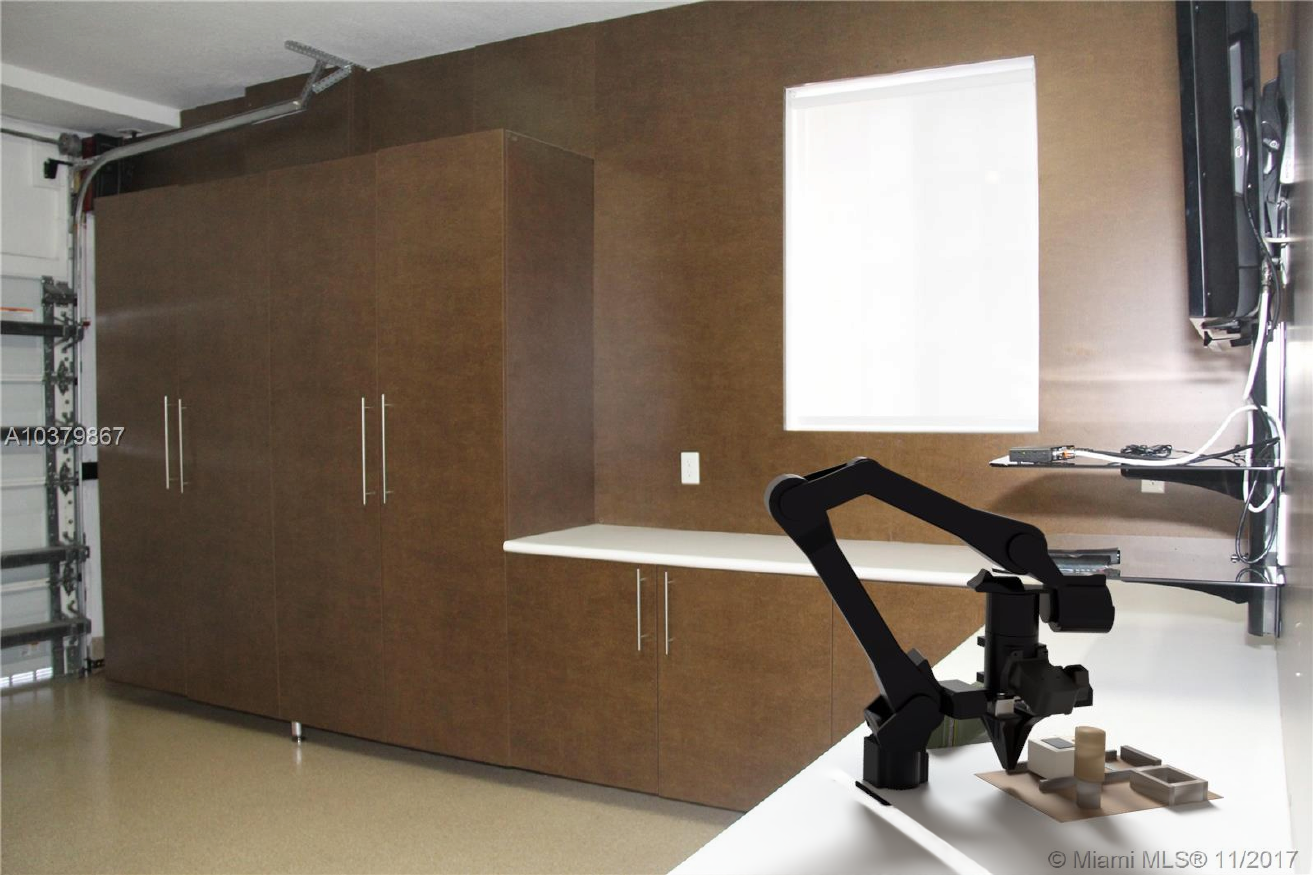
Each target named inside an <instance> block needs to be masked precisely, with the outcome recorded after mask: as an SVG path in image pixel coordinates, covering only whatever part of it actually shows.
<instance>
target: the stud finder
mask: <svg viewBox="0 0 1313 875" xmlns="http://www.w3.org/2000/svg"><path fill="white" fill-rule="evenodd" d="M1074 749H1075V735H1073V734H1070V733H1069V734H1067V733H1066V734H1061V735H1059V734H1058V735H1053V736H1052V735H1051V736H1044V737H1043V736H1042V737H1035V738H1027V760H1026V761H1027V769H1028V770H1030V771H1032V772H1034V773H1036V774H1038V775H1040V776H1042V777H1044V778H1046V779H1053V778H1061V777H1068V776H1074Z"/></svg>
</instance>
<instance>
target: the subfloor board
mask: <svg viewBox="0 0 1313 875" xmlns="http://www.w3.org/2000/svg"><path fill="white" fill-rule="evenodd" d="M1119 747H1120V748H1119V749H1120V750H1119V752H1120V754H1118V750H1117V749H1115V748H1114V749H1107V750H1106V749H1105V780H1104V781H1103V782H1101V808H1100V809H1096V810H1091V809H1085V808H1082V807H1079V806H1078V805H1077V804H1076V788H1077V778H1076V777H1075V776H1068V777H1061V778H1053V779H1046V778H1044V777H1042V776H1040V775H1038V774H1036V773H1034V772H1032V771H1030V770H1028V769H1027V760H1020V761H1019V760H1018V762H1017V764H1016V767H1015V769H1014V770H1012V771H1007V770H1005V769H1002V770H995V771H993V770H992V771H986V772H979V773H974V774H973V775H974V776H976V777H977V778H980V780H981V779H982V780H983V781H986V782H987V783H988V784H991V785H993V786H994V787H996V788H998V789H999V790H1002V791H1003V792H1005V793H1007V794H1009V795H1010V796H1013V797H1014V798H1016V799H1018V800H1019V801H1021V802H1023V803H1025V804H1026V805H1028V806H1030V807H1032V808H1034V809H1035V810H1038V811H1039V812H1041V813H1043V814H1045V815H1047V816H1048V817H1050V818H1052V819H1054V820H1056V821H1057V822H1059V823H1067V822H1073V821H1081V820H1086V819H1093V818H1099V817H1100V818H1101V817H1105V816H1113V815H1119V814H1126V813H1132V812H1140V811H1146V810H1153V809H1159V808H1164V807H1165V808H1166V807H1171V806H1179V805H1184V804H1190V803H1198V802H1204V801H1211V800H1218V799H1222V798H1223V799H1224V796H1222V795H1220V794H1217V793H1215V792H1212V791H1210V790H1209V781H1208V780H1206V779H1204V778H1202V777H1198V776H1197V775H1194V774H1192V773H1189V772H1186V771H1184V770H1182V769H1179V768H1177V767H1175V766H1172V765H1170V764H1167V763H1166V764H1162V763H1163V762H1162V761H1163V759H1161V758H1159V757H1156V756H1153V755H1152V754H1149V753H1146V752H1144V751H1142V750H1140V749H1137V748H1135V747H1132V746H1130V745H1126V744H1125V745H1120V746H1119Z"/></svg>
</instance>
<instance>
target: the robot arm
mask: <svg viewBox="0 0 1313 875" xmlns="http://www.w3.org/2000/svg"><path fill="white" fill-rule="evenodd" d="M764 491H765V492H764V495H763V503H764V506H765V509H766V511H767V512H768V514H769V516H771V518H772V519H773V520H774V521H775V522H776V523H777V524H778V526H780V528H781V529H782V530H783V531H784V533H785V534H786V535H787V536H788V537H789V538H790V539H791V540H792V542H793V543H794V544H795V545H796V546H797V547H798V548H799V549H800V550H801V552H802V553H804V555H805V557H806V558H807V559H808V561H809V562H810V564H811V566H812V568H813V569H814V571H815V573H816V574H817V575H818V578H819V579H820V580H821V582H822V584H823V586H824V587H825V589H826V591H827V592H828V594H829V595H830V597H831V599H832V601H833V602H834V603H835V605H836V607H837V608H838V610H839V611H840V614H841V615H842V618H844V620H845V622H846V623H847V625H848V627H849V628H850V630H851V631H852V633H853V634H854V636H855V638H856V640H857V641H858V643H859V645H860V646H861V649H862V650H863V651H864V653H865V655H866V656H867V658H868V662H869V664H870V667H871V670H872V674H873V676H874V680H875V682H876V685H877V689H878V690H879V692H880V693H879V694H878V695H877V696H876V697H875V698H874V699H873V700H871V701H870V702H869V703H868V704H866V706H865V707H864V708H863V709H862V714H863V717H864V719H865V723H866V726H867V727H868V729H870V731H871V732H872V733H870V734H869V735H865V736H863V753H862V754H863V758H862V762H863V763H862V764H863V765H862V780H864V781H865V782H867V783H868V784H870V785H871V786H872V787H874V788H875V789H877V790H884V789H885V790H890V791H910V790H914V789H917V788H919V787H920V785H923V784H926V783H928V782H929V773H930V772H929V771H930V765H929V764H930V752H928V750H926V746H927V744H928V741H929V739H930V736H931V734H932V731H934V730H935V729H937V728H938V727H939V726H940V725H941V723H942V722H943V720H944V717H945V715H946V716H948V717H951V718H953V719H958V720H966V719H975V718H980V720H981V722H982V723H983V725H984V727H985V729H986V731H985V732H986V733H987V735H988V738H989V740H990V741H991V742H990V743H991V745H992V747H993V749H994V751H995V754H996V756H997V758H998V760H999V763H1000V765H1001V768H1002V770H1007V771H1012V770H1014V769H1015V767H1016V764H1017V762H1019V760H1020V757H1021V754H1022V752H1023V750H1024V747H1025V744H1026V742H1027V741H1028V739H1029V738H1028V737H1029V735H1031V732H1032V730H1033V728H1034V727H1035V726H1036V725H1037V724H1038V723H1040V722H1041V721H1042V720H1044V719H1046V718H1050V717H1051V716H1053V715H1054V716H1055V715H1064V716H1069V715H1072V713H1073V710H1074V709H1075V708H1085V707H1093V706H1094V689H1093V687H1092V685H1091V683H1090V673H1089V670H1088V668H1086V667H1085V666H1084V665H1082V664H1080V663H1077V664H1076V663H1075V664H1068V665H1065V667H1064V666H1062V665H1054V664H1053V663H1051V662H1050V659H1049V650H1048V648H1047V646H1048V645H1047V644H1045V643H1042V642H1040V620H1041V622H1042V623H1043V624H1047V625H1048V627H1049V629H1050V630H1051V632H1053V633H1065V634H1066V633H1067V634H1071V633H1072V634H1109V633H1110V632H1111V631H1112V629H1113V626H1114V624H1115V623H1114V622H1115V619H1116V618H1115V617H1116V607H1115V605H1113V604H1114V602H1113V597H1112V595H1111V594H1112V593H1111V591H1110V589H1109V587H1108V586H1107V575H1106V574H1105V573H1102V572H1100V571H1094V570H1093V571H1084V572H1062V571H1061V570H1060V568H1059V566H1058V565H1057V564H1056V563H1055V561H1054V560H1053V558H1052V557H1051V556H1050V554H1049V553H1048V552H1049V550H1048V547H1049V546H1048V545H1049V544H1048V541H1047V539H1046V536H1045V533H1044V532H1043V531H1042V530H1041V529H1040V528H1038V527H1037V526H1035V525H1034V524H1031V523H1028V522H1024V521H1021V520H1019V519H1017V518H1013V517H1010V516H1005V515H1002V514H999V513H995V512H991V511H987V510H983V509H980V508H979V509H978V508H975V507H971V506H968V505H966V504H964V503H963V502H960V501H958V500H956V499H953V498H952V497H950V496H947V495H945V494H943V493H940V492H938V491H936V490H934V489H932V488H930V487H928V486H926V485H923V483H922V484H921V483H919V482H917V481H916V480H915V481H914V480H913V479H911V478H909V477H906V476H904V475H902V474H901V473H898V472H896V471H894V470H892V469H889V468H887V467H885V466H883V465H882V464H881V463H879V461H877V460H875V459H873V458H869V457H864V456H856V457H854V458H850V459H849V461H846V462H844V463H840V464H838V465H835V466H829V467H828V468H824V469H821V470H817V471H814V472H811V473H807V474H805V475H803V476H800V475H797V474H793V473H785V474H783V473H782V474H781V475H779V476H776V477H775V478H773V479H772V480H771V481H770V482H769V483H768V485H767V486H766V489H765V490H764ZM865 495H866V496H867V495H868V496H870V497H872V498H874V499H876V500H879V501H881V502H883V503H885V504H887V505H889V506H891V507H894V508H896V509H898V510H900V511H902V512H904V513H906V514H908V515H910V516H913V517H915V518H916V519H919V520H921V521H924V522H926V523H927V524H930V525H932V526H934V527H936V528H938V529H941V530H943V531H945V532H946V533H949V534H951V535H952V536H954V537H955V538H956V539H957V540H959V541H961V543H963V544H964V545H965V546H967V547H968V548H970V549H971V550H973V551H974V552H975V553H976V554H978V555H979V556H981V557H982V558H984V559H986V560H987V561H988V562H989V563H991V564H993V565H995V566H996V567H999V568H1001V569H1002V570H1005V571H1007V572H1009V573H1011V574H1014V575H993V574H992V572H991V571H989V570H988V569H986V568H984V567H983V568H981V569H980V570H979V571H978V573H977V574H975V575H974V576H973V577H972V578H971V579H969V580H968V581H967V582H966V586H967V587H968V588H969V589H970V590H972V591H974V592H976V593H981V594H984V593H985V607H984V608H985V609H984V610H985V614H984V616H985V617H984V635H977V637H976V638H977V639H976V645H977V646H979V647H982V648H983V651H984V652H983V656H984V657H983V671H976V674H975V675H976V676H975V678H976V679H975V682H976V681H978V682H981V683H983V684H984V687H975V686H972V685H970V683H968V682H965V681H962V680H960V679H957V678H956V679H947V680H946V679H944V680H938V679H937V678H936V676H935V674H934V672H933V668H932V666H931V664H930V663H929V660H928V659H927V658H926V657H925V656H924V655H923V654H922V653H921V651H919V649H917V647H912V648H911V649H910V650H909V651H908V652H907V653H906V652H905V651H904V649H902V648H901V646H900V644H899V643H898V641H897V639H896V638H895V636H894V634H893V633H892V631H891V629H890V628H889V626H888V624H887V622H886V621H885V620H884V617H883V616H882V615H881V613H880V611H879V609H878V608H877V607H876V605H875V603H874V601H873V600H872V598H871V596H870V595H869V594H868V591H867V589H865V586H864V585H863V583H862V581H861V580H860V578H859V576H858V575H857V574H856V572H855V571H854V568H853V567H852V565H851V564H850V562H849V561H848V559H847V557H846V556H845V554H844V552H843V551H842V549H841V547H840V545H839V544H838V542H837V539H836V536H835V533H834V529H833V525H832V523H831V520H830V517H829V514H828V512H827V511H829V510H832V509H834V508H837V507H839V506H842V505H843V504H846V503H849V502H850V501H852V500H855V499H857V498H859V497H862V496H865ZM1016 575H1017V576H1016ZM1019 576H1027V577H1029V578H1032V579H1033V580H1035V581H1037V582H1040V583H1042V584H1040V583H1039V584H1038V583H1037V584H1036V583H1035V584H1034V583H1033V584H1030V583H1029V584H1028V583H1023V581H1022V579H1021V578H1020V577H1019ZM998 693H1000V694H1001V695H998ZM854 783H855V784H854V785H855V787H856V788H857V789H859V790H860V791H862V792H863V793H865V794H866V795H868V796H869V797H871V798H872V799H874V800H876V802H878V803H880V804H881V805H883V806H888V807H889V806H893V804H892V803H890V802H889V801H887V800H886V799H885V798H883V797H881V796H880V795H879V794H878V793H876V792H875V791H873V790H871V788H868V786H866V785H865V784H863V783H861V782H860V781H858V780H855V782H854Z"/></svg>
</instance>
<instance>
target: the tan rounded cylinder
mask: <svg viewBox="0 0 1313 875" xmlns="http://www.w3.org/2000/svg"><path fill="white" fill-rule="evenodd" d="M1074 736H1075V749H1074V776H1075V777H1076V778H1077V788H1076V804H1077V805H1078V806H1079V807H1082V808H1085V809H1091V810H1096V809H1100V808H1101V782H1103V781H1104V780H1105V751H1106V747H1107V746H1106V740H1107V738H1106V737H1107V732H1106V730H1104V729H1102V728H1099V727H1095V726H1090V725H1089V726H1088V725H1080V726H1076V727H1075V728H1074Z"/></svg>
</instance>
